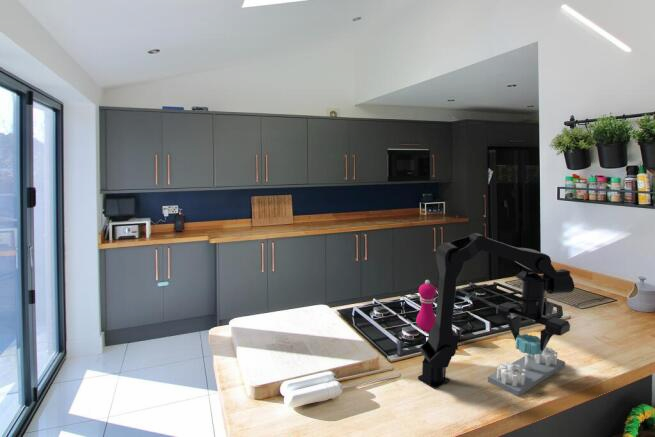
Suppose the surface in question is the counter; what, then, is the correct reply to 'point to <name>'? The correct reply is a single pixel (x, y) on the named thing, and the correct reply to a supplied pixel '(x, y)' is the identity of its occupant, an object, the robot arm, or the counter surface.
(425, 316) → the pepper mill
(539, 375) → the gear board
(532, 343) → the teal gear
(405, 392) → the counter surface
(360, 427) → the counter surface
